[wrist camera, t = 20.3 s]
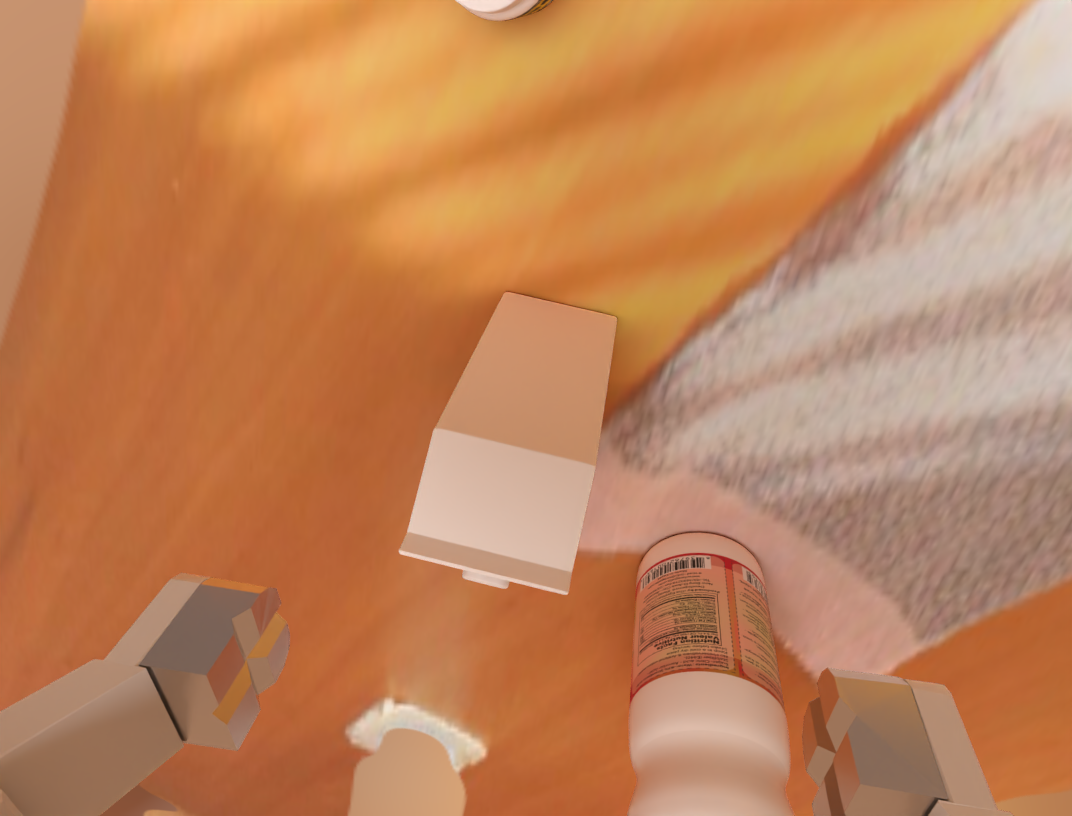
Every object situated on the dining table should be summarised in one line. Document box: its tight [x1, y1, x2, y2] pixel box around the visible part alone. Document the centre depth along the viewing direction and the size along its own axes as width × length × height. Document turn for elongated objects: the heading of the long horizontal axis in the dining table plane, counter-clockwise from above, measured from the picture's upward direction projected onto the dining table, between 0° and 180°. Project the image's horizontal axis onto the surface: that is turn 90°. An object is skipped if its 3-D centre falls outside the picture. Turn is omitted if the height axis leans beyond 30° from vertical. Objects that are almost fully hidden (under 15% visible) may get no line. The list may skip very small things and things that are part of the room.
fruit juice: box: [627, 533, 795, 816], centre depth 40 cm, size 9×9×28 cm
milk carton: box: [399, 292, 617, 595], centre depth 35 cm, size 7×7×19 cm
